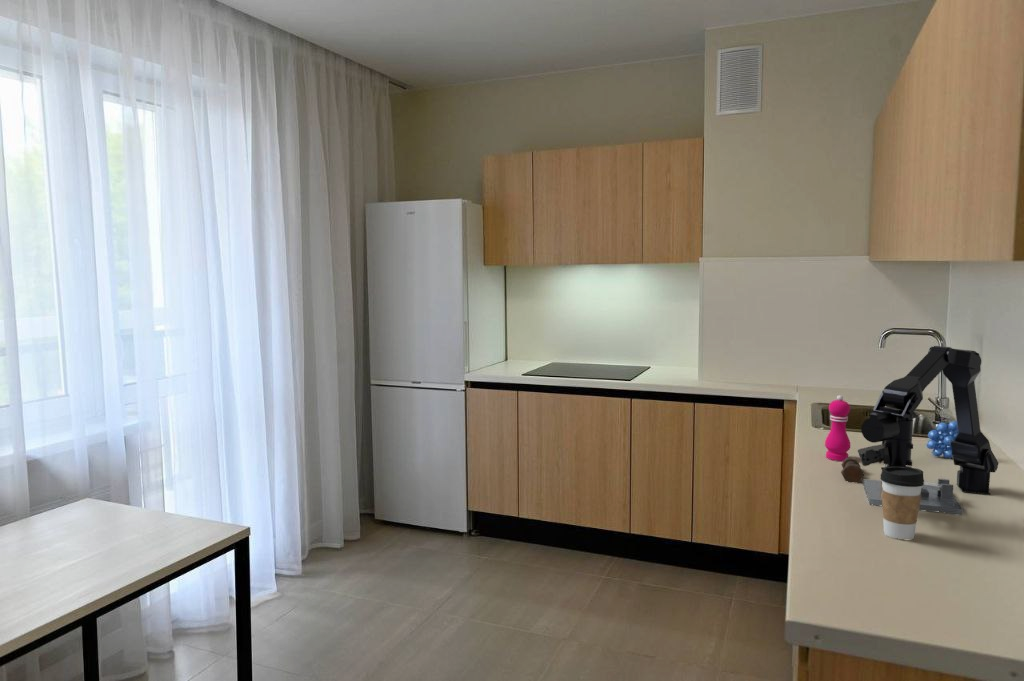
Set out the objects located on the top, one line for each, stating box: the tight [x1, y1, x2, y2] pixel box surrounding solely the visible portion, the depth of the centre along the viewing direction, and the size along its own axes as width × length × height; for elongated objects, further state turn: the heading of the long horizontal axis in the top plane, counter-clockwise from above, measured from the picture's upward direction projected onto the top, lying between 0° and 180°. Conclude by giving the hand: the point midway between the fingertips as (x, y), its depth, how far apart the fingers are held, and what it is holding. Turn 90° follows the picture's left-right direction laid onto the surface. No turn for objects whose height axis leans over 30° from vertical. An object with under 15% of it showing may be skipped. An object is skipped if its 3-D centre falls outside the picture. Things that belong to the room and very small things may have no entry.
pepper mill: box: [824, 394, 851, 462], centre depth 216 cm, size 7×7×20 cm
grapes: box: [925, 420, 958, 459], centre depth 218 cm, size 12×7×12 cm, turn 66°
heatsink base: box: [862, 478, 964, 516], centre depth 179 cm, size 20×18×5 cm
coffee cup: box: [879, 466, 925, 540], centre depth 154 cm, size 8×8×15 cm
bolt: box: [840, 457, 865, 483], centre depth 200 cm, size 6×5×15 cm
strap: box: [921, 480, 942, 491], centre depth 179 cm, size 14×3×1 cm, turn 68°
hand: (894, 500), depth 170 cm, fingers closed
